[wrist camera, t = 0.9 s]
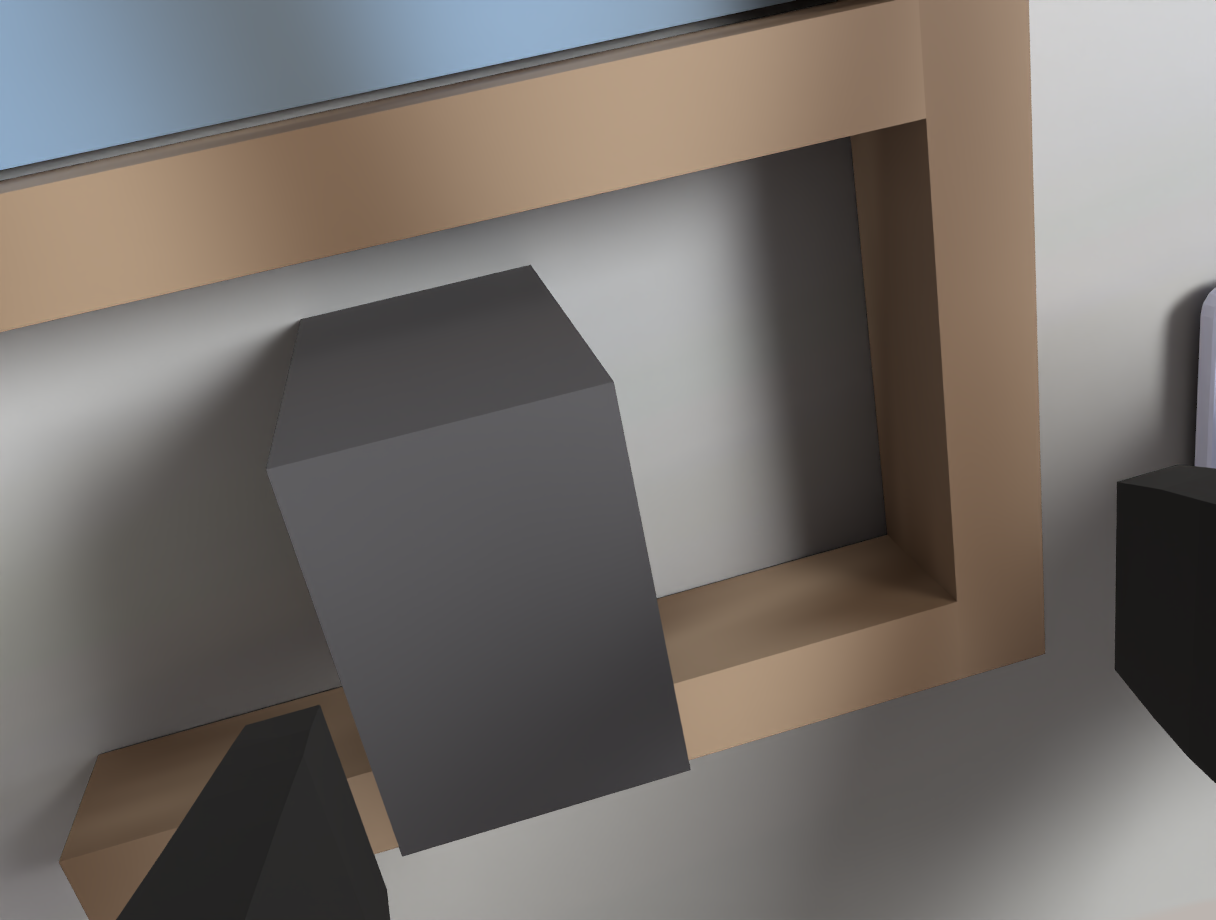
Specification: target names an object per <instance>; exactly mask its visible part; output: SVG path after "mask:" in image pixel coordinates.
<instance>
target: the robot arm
mask: <svg viewBox="0 0 1216 920" xmlns="http://www.w3.org/2000/svg"><path fill="white" fill-rule="evenodd" d="M1115 670H1116V671H1117V673H1118V674H1119V675H1120V676H1121V678H1122V679H1123V680H1124V681H1125V683H1126V684H1127V685H1128V686H1129V688H1130V689H1131V690H1132V691H1133V693H1134V694H1135V695H1136V696H1137V697H1138V699H1139V700H1140V701H1141V702H1142V704H1143V705H1144V706H1145V707H1146V709H1147V710H1148V711H1149V712H1150V714H1151V715H1152V716H1153V717H1154V719H1155V720H1156V721H1157V722H1158V723H1159V724H1160V725H1161V727H1162V728H1163V729H1164V730H1165V731H1166V732H1167V733H1168V735H1169V736H1170V737H1171V738H1172V739H1173V740H1174V741H1175V743H1176V744H1177V745H1178V746H1179V747H1180V748H1181V749H1182V751H1183V752H1184V753H1185V754H1186V755H1187V756H1188V757H1189V758H1190V759H1191V760H1192V761H1193V762H1194V763H1195V764H1196V765H1197V766H1198V767H1199V768H1200V769H1201V770H1202V771H1203V772H1204V773H1205V774H1206V775H1208V776H1209V777H1210V778H1211V779H1212V780H1213V781H1214V782H1215V783H1216V287H1215V288H1214V289H1213V290H1212V291H1211V292H1210V293H1209V294H1208V296H1207V298H1206V299H1205V301H1204V303H1203V306H1202V311H1201V319H1200V344H1199V369H1198V394H1197V419H1196V444H1195V466H1187V465H1176V466H1172V467H1168V468H1165V469H1161V470H1158V471H1154V472H1151V473H1147V474H1143V475H1140V476H1136V477H1133V478H1129V479H1125V480H1122V481H1118V482H1117V529H1116V615H1115ZM116 920H390V914H389V905H388V896H387V889H386V886H385V883H384V881H383V878H382V875H381V872H380V869H379V867H378V864H377V861H376V858H375V856H374V853H373V850H372V847H371V845H370V842H369V839H368V836H367V834H366V831H365V828H364V825H363V822H362V820H361V817H360V814H359V811H358V809H357V806H356V803H355V800H354V798H353V795H352V792H351V789H350V787H349V784H348V781H347V778H346V775H345V773H344V770H343V767H342V764H341V762H340V759H339V756H338V753H337V751H336V748H335V745H334V742H333V739H332V737H331V734H330V731H329V728H328V726H327V723H326V720H325V717H324V715H323V712H322V709H321V706H320V705H316V706H313V707H309V708H305V709H302V710H298V711H295V712H291V713H288V714H284V715H280V716H277V717H273V718H270V719H266V720H263V721H259V722H255V723H252V724H248V725H245V727H244V728H243V729H242V731H241V732H240V734H239V735H238V737H237V738H236V740H235V741H234V742H233V744H232V746H231V747H230V749H229V750H228V752H227V753H226V755H225V756H224V758H223V759H222V761H221V762H220V764H219V765H218V767H217V768H216V770H215V771H214V773H213V775H212V776H211V778H210V779H209V781H208V782H207V784H206V785H205V787H204V788H203V790H202V791H201V793H200V794H199V796H198V797H197V799H196V801H195V802H194V804H193V805H192V807H191V808H190V810H189V811H188V813H187V814H186V816H185V817H184V819H183V821H182V822H181V824H180V825H179V827H178V828H177V830H176V831H175V833H174V834H173V836H172V837H171V839H170V840H169V842H168V843H167V845H166V847H165V848H164V850H163V851H162V853H161V854H160V856H159V857H158V859H157V860H156V862H155V863H154V864H153V866H152V867H151V869H150V870H149V872H148V873H147V875H146V876H145V878H144V879H143V881H142V882H141V884H140V885H139V886H138V888H137V889H136V891H135V892H134V894H133V895H132V897H131V898H130V900H129V901H128V903H127V904H126V906H125V907H124V909H123V910H122V911H121V913H120V914H119V916H118V917H117V919H116Z"/></svg>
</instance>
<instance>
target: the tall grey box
mask: <svg viewBox="0 0 1216 920" xmlns="http://www.w3.org/2000/svg"><path fill="white" fill-rule="evenodd" d="M266 471H267V474H268V477H269V480H270V483H271V486H272V488H273V491H274V494H275V497H276V500H277V503H278V505H279V508H280V511H281V514H282V517H283V520H284V522H285V525H286V528H287V531H288V534H289V537H290V539H291V542H292V545H293V548H294V551H295V554H296V557H297V559H298V562H299V565H300V568H301V571H302V574H303V576H304V579H305V582H306V585H307V588H308V591H309V593H310V596H311V599H312V602H313V605H314V608H315V610H316V613H317V616H318V619H319V622H320V625H321V627H322V630H323V633H324V636H325V639H326V642H327V644H328V647H329V650H330V653H331V656H332V659H333V661H334V664H335V667H336V670H337V673H338V676H339V679H340V681H341V684H342V687H343V690H344V693H345V696H346V698H347V701H348V704H349V707H350V710H351V713H352V715H353V718H354V721H355V724H356V727H357V730H358V732H359V735H360V738H361V741H362V744H363V747H364V749H365V752H366V755H367V758H368V761H369V764H370V766H371V769H372V772H373V775H374V778H375V781H376V783H377V786H378V789H379V792H380V795H381V798H382V800H383V803H384V806H385V809H386V812H387V815H388V818H389V820H390V823H391V826H392V829H393V832H394V835H395V837H396V840H397V843H398V846H399V849H400V852H401V854H402V856H406V855H409V854H412V853H416V852H419V851H422V850H426V849H429V848H432V847H436V846H439V845H442V844H446V843H449V842H452V841H456V840H459V839H462V838H466V837H469V836H472V835H476V834H479V833H482V832H486V831H489V830H492V829H496V828H499V827H502V826H506V825H509V824H512V823H516V822H519V821H522V820H526V819H529V818H532V817H536V816H539V815H542V814H545V813H549V812H552V811H555V810H559V809H562V808H565V807H569V806H572V805H575V804H579V803H582V802H585V801H589V800H592V799H595V798H599V797H602V796H605V795H609V794H612V793H615V792H619V791H622V790H625V789H629V788H632V787H635V786H639V785H642V784H645V783H649V782H652V781H655V780H659V779H662V778H665V777H669V776H672V775H675V774H679V773H682V772H685V771H689V770H691V769H690V764H689V759H688V754H687V749H686V744H685V739H684V734H683V729H682V724H681V719H680V714H679V709H678V704H677V699H676V694H675V689H674V683H673V678H672V673H671V668H670V663H669V658H668V653H667V648H666V643H665V638H664V633H663V628H662V623H661V618H660V613H659V608H658V603H657V598H656V593H655V588H654V583H653V578H652V573H651V568H650V563H649V558H648V552H647V547H646V542H645V537H644V532H643V527H642V522H641V517H640V512H639V507H638V502H637V497H636V492H635V487H634V482H633V477H632V472H631V467H630V462H629V457H628V452H627V447H626V442H625V437H624V432H623V427H622V421H621V416H620V411H619V406H618V401H617V396H616V391H615V386H614V382H613V380H612V379H611V377H610V376H609V375H608V373H607V372H606V370H605V369H604V367H603V366H602V365H601V363H600V362H599V360H598V359H597V358H596V356H595V355H594V353H593V352H592V351H591V349H590V348H589V346H588V345H587V344H586V342H585V341H584V339H583V338H582V337H581V335H580V334H579V332H578V331H577V330H576V328H575V327H574V325H573V324H572V323H571V321H570V320H569V318H568V317H567V315H566V314H565V313H564V311H563V310H562V308H561V307H560V306H559V304H558V303H557V301H556V300H555V299H554V297H553V296H552V294H551V293H550V292H549V290H548V289H547V287H546V286H545V285H544V283H543V282H542V280H541V279H540V278H539V276H538V275H537V273H536V272H535V271H534V269H533V268H532V266H531V265H528V266H524V267H520V268H515V269H511V270H507V271H503V272H499V273H494V274H490V275H486V276H482V277H478V278H473V279H469V280H465V281H461V282H456V283H452V284H448V285H444V286H440V287H435V288H431V289H427V290H423V291H419V292H414V293H410V294H406V295H402V296H397V297H393V298H389V299H385V300H381V301H376V302H372V303H368V304H364V305H360V306H355V307H351V308H347V309H343V310H338V311H334V312H330V313H326V314H322V315H317V316H313V317H309V318H305V319H301V321H300V325H299V329H298V334H297V338H296V342H295V347H294V351H293V355H292V359H291V364H290V368H289V372H288V377H287V381H286V385H285V390H284V394H283V398H282V403H281V407H280V411H279V415H278V420H277V424H276V428H275V433H274V437H273V441H272V446H271V450H270V454H269V458H268V463H267V467H266Z"/></svg>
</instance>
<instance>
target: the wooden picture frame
mask: <svg viewBox="0 0 1216 920" xmlns="http://www.w3.org/2000/svg"><path fill="white" fill-rule="evenodd" d="M790 1H794V0H0V170H3V169H8V168H13V167H17V166H22V165H27V164H31V163H36V162H41V161H45V160H50V159H55V158H59V157H64V156H69V155H73V154H78V153H83V152H87V151H92V150H97V149H102V148H106V147H111V146H116V145H120V144H125V143H130V142H134V141H139V140H144V139H148V138H153V137H158V136H162V135H167V134H172V133H176V132H181V131H186V130H190V129H195V128H200V127H205V126H209V125H214V124H219V123H223V122H228V121H233V120H237V119H242V118H247V117H251V116H256V115H261V114H265V113H270V112H275V111H279V110H284V109H289V108H293V107H298V106H303V105H307V104H312V103H317V102H322V101H326V100H331V99H336V98H340V97H345V96H350V95H354V94H359V93H364V92H368V91H373V90H378V89H382V88H387V87H392V86H396V85H401V84H406V83H410V82H415V81H420V80H425V79H429V78H434V77H439V76H443V75H448V74H453V73H457V72H462V71H467V70H471V69H476V68H481V67H485V66H490V65H495V64H499V63H504V62H509V61H513V60H518V59H523V58H527V57H532V56H537V55H542V54H546V53H551V52H556V51H560V50H565V49H570V48H574V47H579V46H584V45H588V44H593V43H598V42H602V41H607V40H612V39H616V38H621V37H626V36H630V35H635V34H640V33H645V32H649V31H654V30H659V29H663V28H668V27H673V26H677V25H682V24H687V23H691V22H696V21H701V20H705V19H710V18H715V17H719V16H724V15H729V14H733V13H738V12H743V11H747V10H752V9H757V8H762V7H766V6H771V5H776V4H780V3H785V2H790ZM848 136H850V137H851V147H852V158H853V169H854V180H855V191H856V201H857V212H858V223H859V234H860V245H861V255H862V266H863V277H864V288H865V299H866V310H867V320H868V331H869V342H870V353H871V364H872V374H873V385H874V396H875V407H876V418H877V428H878V439H879V450H880V461H881V472H882V482H883V493H884V504H885V515H886V526H887V535H884V536H881V537H877V538H874V539H870V540H866V541H863V542H859V543H856V544H852V545H848V546H845V547H841V548H838V549H834V550H831V551H827V552H823V553H820V554H816V555H813V556H809V557H805V558H802V559H798V560H795V561H791V562H788V563H784V564H780V565H777V566H773V567H770V568H766V569H763V570H759V571H755V572H752V573H748V574H745V575H741V576H737V577H734V578H730V579H727V580H723V581H720V582H716V583H712V584H709V585H705V586H702V587H698V588H694V589H691V590H687V591H684V592H680V593H677V594H673V595H669V596H666V597H662V598H659V599H657V603H658V608H659V613H660V618H661V623H662V628H663V633H664V638H665V643H666V648H667V653H668V658H669V663H670V668H671V673H672V678H673V683H674V689H675V694H676V699H677V704H678V709H679V714H680V719H681V724H682V729H683V734H684V739H685V744H686V749H687V754H688V759H689V760H691V759H695V758H698V757H701V756H705V755H708V754H712V753H715V752H718V751H722V750H725V749H728V748H732V747H735V746H738V745H742V744H745V743H748V742H752V741H755V740H758V739H762V738H765V737H768V736H772V735H775V734H778V733H782V732H785V731H788V730H792V729H795V728H798V727H802V726H805V725H809V724H812V723H815V722H819V721H822V720H825V719H829V718H832V717H835V716H839V715H842V714H845V713H849V712H852V711H855V710H859V709H862V708H865V707H869V706H872V705H875V704H879V703H882V702H885V701H889V700H892V699H896V698H899V697H902V696H906V695H909V694H912V693H916V692H919V691H922V690H926V689H929V688H932V687H936V686H939V685H942V684H946V683H949V682H952V681H956V680H959V679H962V678H966V677H969V676H972V675H976V674H979V673H982V672H986V671H989V670H993V669H996V668H999V667H1003V666H1006V665H1009V664H1013V663H1016V662H1019V661H1023V660H1026V659H1029V658H1033V657H1036V656H1039V655H1043V654H1045V628H1044V588H1043V548H1042V509H1041V469H1040V430H1039V390H1038V350H1037V311H1036V271H1035V231H1034V192H1033V152H1032V113H1031V73H1030V33H1029V0H838V1H836V2H831V3H826V4H822V5H817V6H813V7H808V8H803V9H799V10H794V11H789V12H785V13H780V14H775V15H771V16H766V17H761V18H757V19H752V20H747V21H743V22H738V23H733V24H729V25H724V26H719V27H715V28H710V29H705V30H701V31H696V32H691V33H687V34H682V35H678V36H673V37H668V38H664V39H659V40H654V41H650V42H645V43H640V44H636V45H631V46H626V47H622V48H617V49H612V50H608V51H603V52H598V53H594V54H589V55H584V56H580V57H575V58H570V59H566V60H561V61H556V62H552V63H547V64H543V65H538V66H533V67H529V68H524V69H519V70H515V71H510V72H505V73H501V74H496V75H491V76H487V77H482V78H477V79H473V80H468V81H463V82H459V83H454V84H449V85H445V86H440V87H435V88H431V89H426V90H421V91H417V92H412V93H407V94H403V95H398V96H394V97H389V98H384V99H380V100H375V101H370V102H366V103H361V104H356V105H352V106H347V107H342V108H338V109H333V110H328V111H324V112H319V113H314V114H310V115H305V116H300V117H296V118H291V119H286V120H282V121H277V122H272V123H268V124H263V125H259V126H254V127H249V128H245V129H240V130H235V131H231V132H226V133H221V134H217V135H212V136H207V137H203V138H198V139H193V140H189V141H184V142H179V143H175V144H170V145H165V146H161V147H156V148H151V149H147V150H142V151H137V152H133V153H128V154H124V155H119V156H114V157H110V158H105V159H100V160H96V161H91V162H86V163H82V164H77V165H72V166H68V167H63V168H58V169H54V170H49V171H44V172H40V173H35V174H30V175H26V176H21V177H16V178H12V179H7V180H2V181H0V332H4V331H8V330H12V329H16V328H21V327H25V326H29V325H34V324H38V323H42V322H47V321H51V320H55V319H60V318H64V317H68V316H73V315H77V314H81V313H86V312H90V311H94V310H99V309H103V308H107V307H112V306H116V305H120V304H125V303H129V302H133V301H138V300H142V299H146V298H151V297H155V296H159V295H164V294H168V293H172V292H177V291H181V290H185V289H190V288H194V287H198V286H203V285H207V284H211V283H216V282H220V281H224V280H229V279H233V278H237V277H242V276H246V275H250V274H255V273H259V272H263V271H268V270H272V269H276V268H281V267H285V266H289V265H294V264H298V263H302V262H307V261H311V260H315V259H320V258H324V257H328V256H333V255H337V254H341V253H346V252H350V251H354V250H358V249H363V248H367V247H371V246H376V245H380V244H384V243H389V242H393V241H397V240H402V239H406V238H410V237H415V236H419V235H423V234H428V233H432V232H436V231H441V230H445V229H449V228H454V227H458V226H462V225H467V224H471V223H475V222H480V221H484V220H488V219H493V218H497V217H501V216H506V215H510V214H514V213H519V212H523V211H527V210H532V209H536V208H540V207H545V206H549V205H553V204H558V203H562V202H566V201H571V200H575V199H579V198H584V197H588V196H592V195H597V194H601V193H605V192H610V191H614V190H618V189H623V188H627V187H631V186H636V185H640V184H644V183H649V182H653V181H657V180H662V179H666V178H670V177H675V176H679V175H683V174H687V173H692V172H696V171H700V170H705V169H709V168H713V167H718V166H722V165H726V164H731V163H735V162H739V161H744V160H748V159H752V158H757V157H761V156H765V155H770V154H774V153H778V152H783V151H787V150H791V149H796V148H800V147H804V146H809V145H813V144H817V143H822V142H826V141H830V140H835V139H839V138H843V137H848ZM316 705H320V706H321V709H322V712H323V715H324V717H325V720H326V723H327V726H328V728H329V731H330V734H331V737H332V739H333V742H334V745H335V748H336V751H337V753H338V756H339V759H340V762H341V764H342V767H343V770H344V773H345V775H346V778H347V781H348V784H349V787H350V789H351V792H352V795H353V798H354V800H355V803H356V806H357V809H358V811H359V814H360V817H361V820H362V822H363V825H364V828H365V831H366V834H367V836H368V839H369V842H370V845H371V847H372V850H373V853H374V854H377V853H380V852H384V851H387V850H390V849H394V848H397V847H399V846H398V843H397V840H396V837H395V835H394V832H393V829H392V826H391V823H390V820H389V818H388V815H387V812H386V809H385V806H384V803H383V800H382V798H381V795H380V792H379V789H378V786H377V783H376V781H375V778H374V775H373V772H372V769H371V766H370V764H369V761H368V758H367V755H366V752H365V749H364V747H363V744H362V741H361V738H360V735H359V732H358V730H357V727H356V724H355V721H354V718H353V715H352V713H351V710H350V707H349V704H348V701H347V698H346V696H345V693H344V690H343V687H340V688H336V689H333V690H329V691H326V692H322V693H318V694H315V695H311V696H308V697H304V698H301V699H297V700H293V701H290V702H286V703H283V704H279V705H275V706H272V707H268V708H265V709H261V710H258V711H254V712H250V713H247V714H243V715H240V716H236V717H232V718H229V719H225V720H222V721H218V722H215V723H211V724H207V725H204V726H200V727H197V728H193V729H189V730H186V731H182V732H179V733H175V734H172V735H168V736H164V737H161V738H157V739H154V740H150V741H147V742H143V743H139V744H136V745H132V746H129V747H125V748H121V749H118V750H114V751H111V752H107V753H104V754H100V755H98V758H97V760H96V763H95V766H94V769H93V771H92V774H91V777H90V779H89V782H88V785H87V787H86V790H85V793H84V795H83V798H82V801H81V803H80V806H79V809H78V812H77V814H76V817H75V820H74V822H73V825H72V828H71V830H70V833H69V836H68V838H67V841H66V844H65V846H64V849H63V852H62V855H61V857H60V860H59V864H60V865H61V867H62V869H63V871H64V873H65V875H66V877H67V879H68V881H69V882H70V884H71V886H72V888H73V890H74V892H75V894H76V896H77V898H78V900H79V901H80V903H81V905H82V907H83V909H84V911H85V913H86V915H87V917H88V918H89V920H116V919H117V917H118V916H119V914H120V913H121V911H122V910H123V909H124V907H125V906H126V904H127V903H128V901H129V900H130V898H131V897H132V895H133V894H134V892H135V891H136V889H137V888H138V886H139V885H140V884H141V882H142V881H143V879H144V878H145V876H146V875H147V873H148V872H149V870H150V869H151V867H152V866H153V864H154V863H155V862H156V860H157V859H158V857H159V856H160V854H161V853H162V851H163V850H164V848H165V847H166V845H167V843H168V842H169V840H170V839H171V837H172V836H173V834H174V833H175V831H176V830H177V828H178V827H179V825H180V824H181V822H182V821H183V819H184V817H185V816H186V814H187V813H188V811H189V810H190V808H191V807H192V805H193V804H194V802H195V801H196V799H197V797H198V796H199V794H200V793H201V791H202V790H203V788H204V787H205V785H206V784H207V782H208V781H209V779H210V778H211V776H212V775H213V773H214V771H215V770H216V768H217V767H218V765H219V764H220V762H221V761H222V759H223V758H224V756H225V755H226V753H227V752H228V750H229V749H230V747H231V746H232V744H233V742H234V741H235V740H236V738H237V737H238V735H239V734H240V732H241V731H242V729H243V728H244V727H245V725H248V724H252V723H255V722H259V721H263V720H266V719H270V718H273V717H277V716H280V715H284V714H288V713H291V712H295V711H298V710H302V709H305V708H309V707H313V706H316Z"/></svg>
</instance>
